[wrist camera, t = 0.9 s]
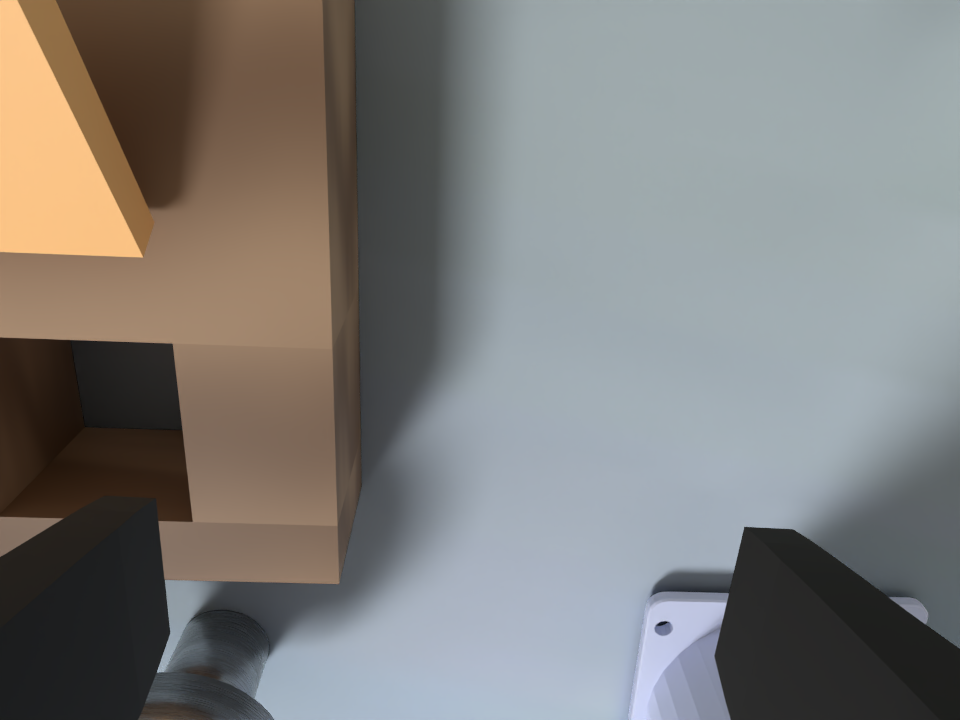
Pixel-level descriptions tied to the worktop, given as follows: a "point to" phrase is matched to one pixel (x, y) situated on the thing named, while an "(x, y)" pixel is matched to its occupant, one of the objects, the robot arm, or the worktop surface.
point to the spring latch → (59, 147)
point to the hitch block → (207, 293)
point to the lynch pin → (212, 672)
